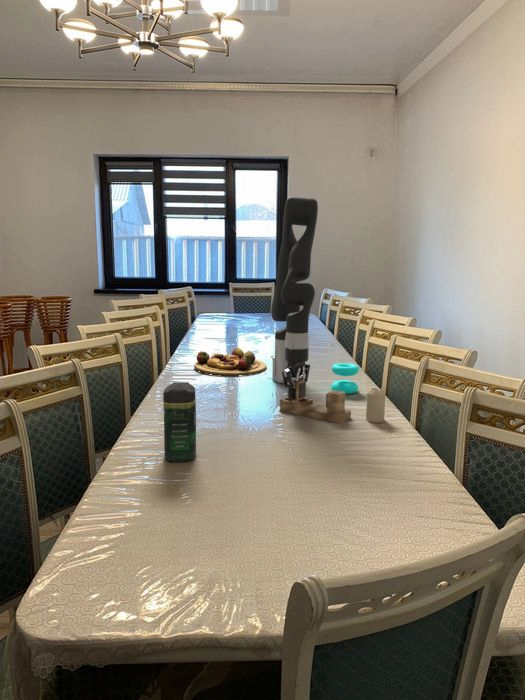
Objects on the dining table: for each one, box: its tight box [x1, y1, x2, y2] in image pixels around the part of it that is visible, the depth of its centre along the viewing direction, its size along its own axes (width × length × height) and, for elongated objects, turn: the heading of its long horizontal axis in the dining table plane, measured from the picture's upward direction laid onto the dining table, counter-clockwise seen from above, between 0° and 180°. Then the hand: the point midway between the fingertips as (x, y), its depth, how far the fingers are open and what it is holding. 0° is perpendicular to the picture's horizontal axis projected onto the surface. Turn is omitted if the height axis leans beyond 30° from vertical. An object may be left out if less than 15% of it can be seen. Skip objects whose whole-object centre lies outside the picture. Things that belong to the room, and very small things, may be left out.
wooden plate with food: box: [193, 346, 268, 377], centre depth 229 cm, size 32×32×8 cm
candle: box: [365, 387, 386, 424], centre depth 158 cm, size 6×6×10 cm
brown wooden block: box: [287, 379, 307, 401], centre depth 167 cm, size 5×4×6 cm
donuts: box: [330, 362, 360, 395], centre depth 191 cm, size 10×10×10 cm
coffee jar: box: [162, 381, 197, 463], centre depth 129 cm, size 10×8×19 cm
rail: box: [279, 389, 352, 424], centre depth 164 cm, size 22×7×8 cm, turn 54°
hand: (295, 397), depth 168 cm, fingers closed on brown wooden block, 4 cm apart
